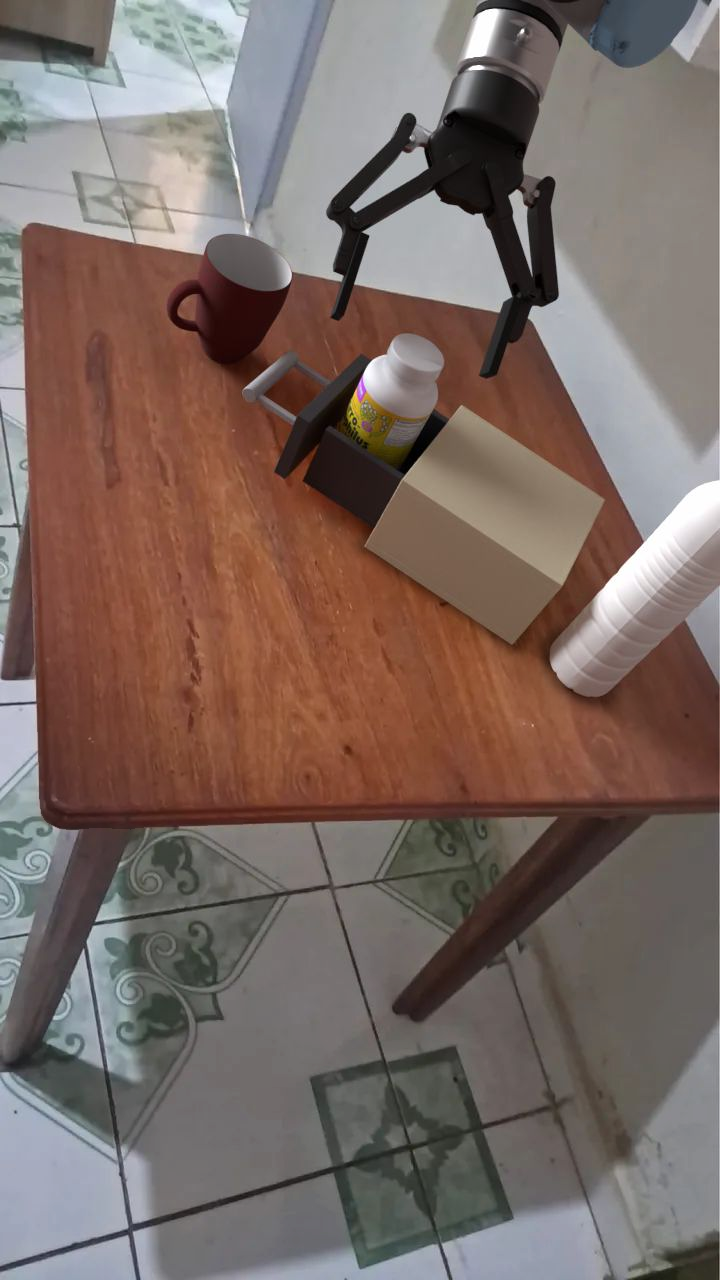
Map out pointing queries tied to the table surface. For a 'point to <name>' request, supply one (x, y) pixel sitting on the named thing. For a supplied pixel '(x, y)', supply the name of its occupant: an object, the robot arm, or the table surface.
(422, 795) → the table surface
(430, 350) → the supplement bottle
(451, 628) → the table surface
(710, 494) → the water bottle
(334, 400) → the dark grey drawer
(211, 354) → the mug
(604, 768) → the table surface
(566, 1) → the robot arm
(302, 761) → the table surface
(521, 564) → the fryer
